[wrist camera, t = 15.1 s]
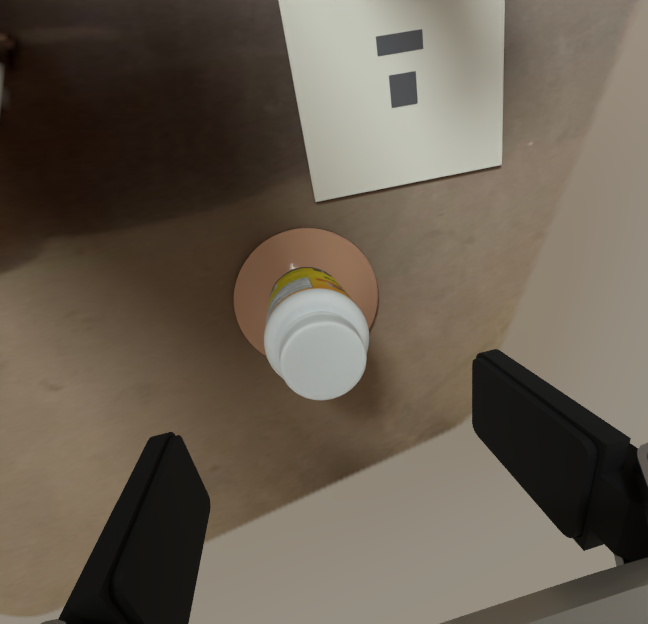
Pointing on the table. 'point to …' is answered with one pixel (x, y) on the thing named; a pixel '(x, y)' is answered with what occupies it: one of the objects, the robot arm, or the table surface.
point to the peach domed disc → (293, 253)
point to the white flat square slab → (395, 89)
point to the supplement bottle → (315, 334)
